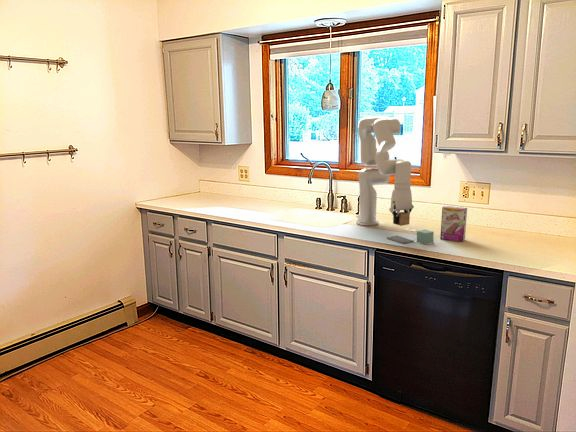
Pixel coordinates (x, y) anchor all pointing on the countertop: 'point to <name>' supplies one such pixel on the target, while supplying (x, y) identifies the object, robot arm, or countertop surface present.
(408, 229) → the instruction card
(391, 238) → the mat
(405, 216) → the walnut block
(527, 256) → the countertop surface
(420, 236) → the teal block
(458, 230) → the candy bar box
